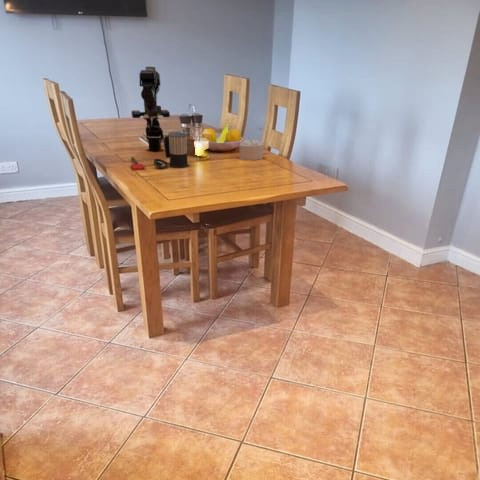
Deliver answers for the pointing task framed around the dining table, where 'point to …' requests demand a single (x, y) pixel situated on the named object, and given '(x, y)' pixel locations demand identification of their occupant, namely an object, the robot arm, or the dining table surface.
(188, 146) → the tin
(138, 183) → the dining table surface
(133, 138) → the dining table surface
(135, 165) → the spatula
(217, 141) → the fruit bowl
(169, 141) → the milk frother
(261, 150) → the lumpy-topped squat cylinder
